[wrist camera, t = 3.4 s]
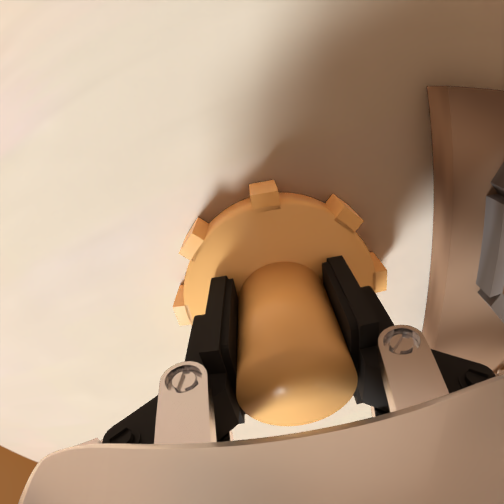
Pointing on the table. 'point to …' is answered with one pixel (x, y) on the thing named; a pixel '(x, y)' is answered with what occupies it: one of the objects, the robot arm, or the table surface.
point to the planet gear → (281, 298)
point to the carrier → (467, 225)
